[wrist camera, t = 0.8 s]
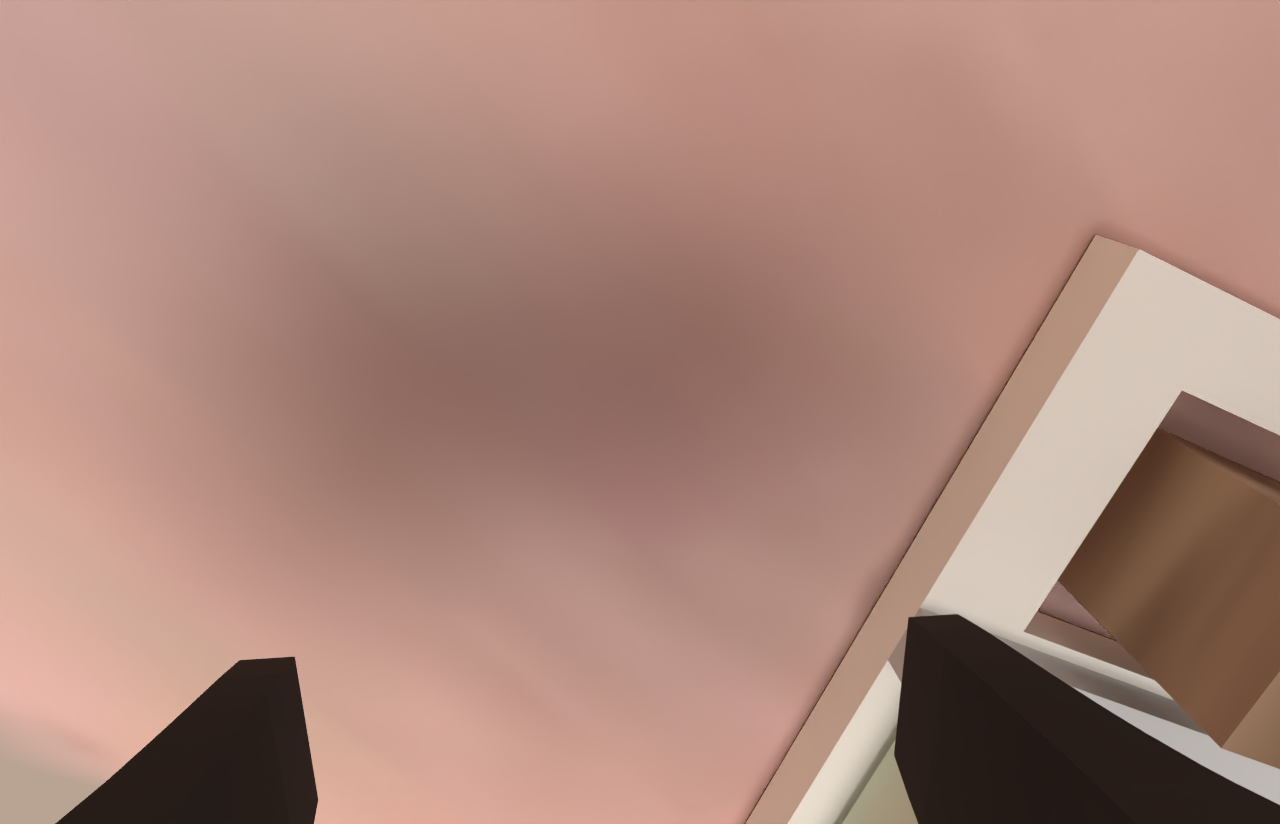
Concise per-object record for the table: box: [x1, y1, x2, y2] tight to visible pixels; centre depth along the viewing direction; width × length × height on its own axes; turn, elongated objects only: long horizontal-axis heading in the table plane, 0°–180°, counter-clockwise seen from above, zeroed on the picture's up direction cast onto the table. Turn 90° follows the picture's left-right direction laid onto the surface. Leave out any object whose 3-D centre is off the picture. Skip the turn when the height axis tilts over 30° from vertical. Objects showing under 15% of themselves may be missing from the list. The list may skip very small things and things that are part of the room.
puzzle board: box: [746, 235, 1280, 824], centre depth 23 cm, size 20×19×3 cm
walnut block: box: [1058, 428, 1280, 769], centre depth 19 cm, size 4×4×6 cm
